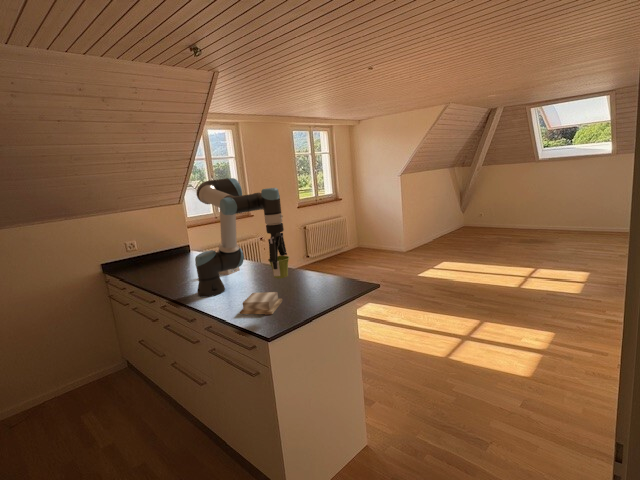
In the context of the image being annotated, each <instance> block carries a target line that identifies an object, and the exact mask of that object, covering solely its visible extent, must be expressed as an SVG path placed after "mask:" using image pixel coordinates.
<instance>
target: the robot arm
mask: <svg viewBox="0 0 640 480" xmlns="http://www.w3.org/2000/svg"><path fill="white" fill-rule="evenodd" d="M260 191H261V192H254V193H250V194H243V190H242V186H241V184H240V182H239V181H238V180H237V178H234V177H232V178H228V177H226V178H220V179H212V180H211V179H210V180H206V181H204V182H202V183H200V185H199V186H198V187H197V189H196V197H197V199H198V201H199V202H201V203H202V204H205V205H213V206H214V207H217V208H219V221H220V222H219V223H220V239H221V241H220V242H221V243H220V244H221V246H220V247H219V246H218V251H219V252H218V251H216V250H214V249H213V250H207V251H204V252H201V253H199V254H197V255H196V256H195V257H194V260H195V261H194V262H195V268H196V274H197V278H198V285H197V291H196V292H197V296H198V295H199V297H201V296H208V297H213V296H212V295H214V296H217V295H220V294H222V293H224V292H225V291H226V288H225V287H226V286H225V284H224V282H223V281H222V279H221V277H220V274H219V272H222V271H227V270H230V269H235V268H237V267H239V268H240V267H241V266H242V265H244V264H243V263H244V260H245V259H244V256H245V255H244V252H243V249H242V248H241V247H240V246H239V245H238V242H237V214H242V213H248V212H249V213H250V212H254V211H261V210H262V211H263V213H264V214H263V215H264V223H265V224H266V225H265V229H266V230H265V231H266V233H267V234H269V235H270V238H268V239H267V240H268V247H269V248H268V250H269V259H270V262H272V265H273V270H272V273H273V272H274V274H273V277H274V276H280V269H279V261H278V256H288V255H287V254H288V253H287V248H286V244H285V239H284V230H285V229H284V223H283V217H284V215H282V207H281V197H280V193H279V189H278V188H277V187H269V188H268V187H267V188H263V189H261V190H260ZM270 262H269V263H270Z"/></svg>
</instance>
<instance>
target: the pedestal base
mask: <svg viewBox="0 0 640 480" xmlns="http://www.w3.org/2000/svg"><path fill="white" fill-rule="evenodd" d="M282 302H283V298H279V295H278V291H273V292H272V291H270V292H269V291H267V292H252V293H251V294H250V295H249V296H248V297H247V298H246V299H245V300H244V301H243V302H242V309H241V310H240V311H239V315H240V314H265V315H273V314H274V312H275V311H276V310H277V309H278V308H279V306H280V305H281V304H282Z"/></svg>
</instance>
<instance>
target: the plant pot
mask: <svg viewBox="0 0 640 480" xmlns="http://www.w3.org/2000/svg"><path fill="white" fill-rule="evenodd" d="M289 259H290V256H288V255H285V256H280V255H278V261H279V269H280V276H274V272H273V265H272V262H270V258H269V259H268V262H269V264H270V267H271V270H272V274H273V277H274V279H278V280H279V279H285V278H287V277H288V276H289Z"/></svg>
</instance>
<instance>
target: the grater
mask: <svg viewBox="0 0 640 480" xmlns="http://www.w3.org/2000/svg"><path fill="white" fill-rule="evenodd" d="M220 246H221V243H220V244H219V245H218V248H219V247H220ZM217 252H219V250H217ZM239 271H240V267H237V268H235V269H230V270H226V271H222V272H219V275H224V276H225V275H226V276H230V275H232V274H235V273H237V272H239Z"/></svg>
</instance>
